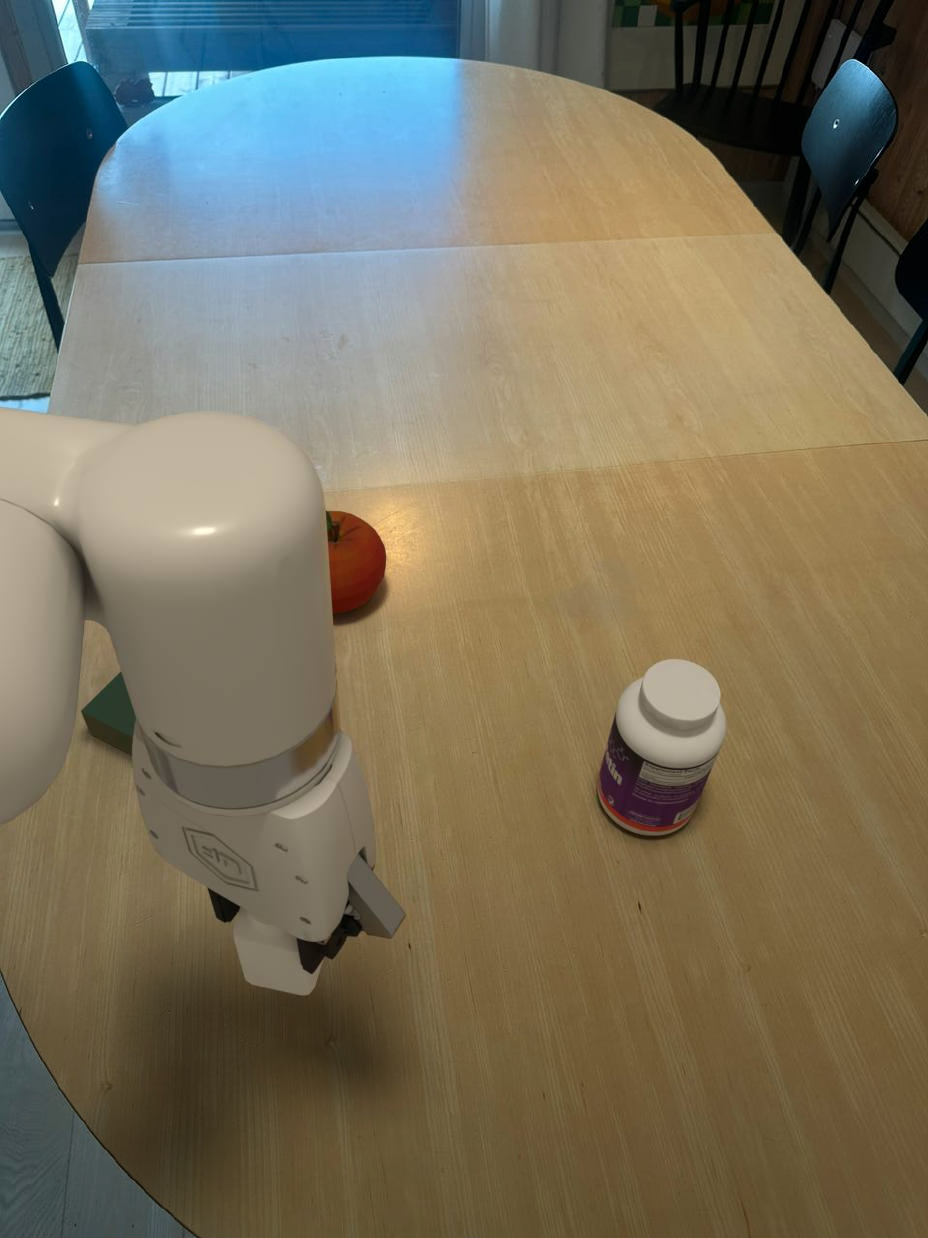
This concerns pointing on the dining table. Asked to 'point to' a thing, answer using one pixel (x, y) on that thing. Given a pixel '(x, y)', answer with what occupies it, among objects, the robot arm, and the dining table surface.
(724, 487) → the dining table surface
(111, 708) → the green square nut
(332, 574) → the fruit
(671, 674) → the pill bottle
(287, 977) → the salt shaker
